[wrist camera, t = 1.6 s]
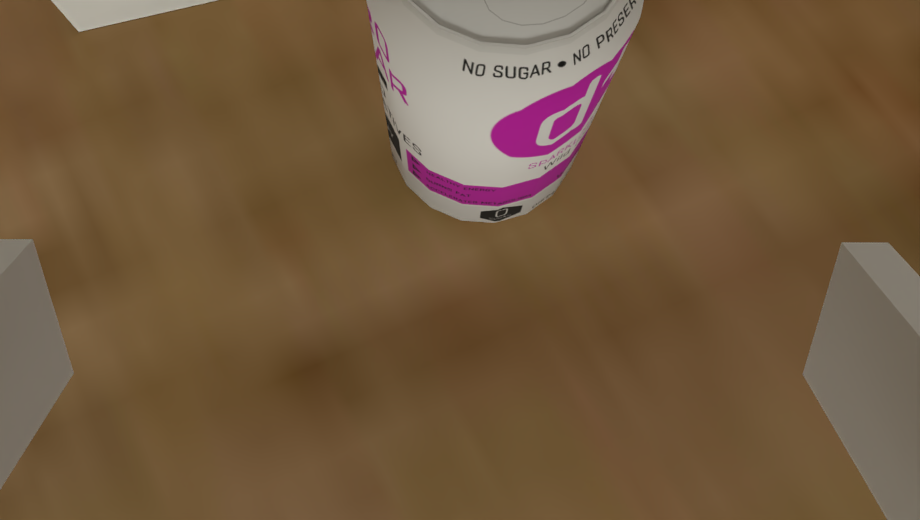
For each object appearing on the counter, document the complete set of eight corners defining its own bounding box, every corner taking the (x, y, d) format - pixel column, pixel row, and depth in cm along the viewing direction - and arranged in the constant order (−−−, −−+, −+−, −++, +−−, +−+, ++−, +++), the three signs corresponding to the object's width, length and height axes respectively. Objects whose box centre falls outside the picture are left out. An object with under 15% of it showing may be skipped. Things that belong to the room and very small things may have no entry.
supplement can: (610, 157, 36) (725, -41, 21) (462, 263, 35) (477, 129, 20) (501, 24, 37) (539, -248, 23) (354, 120, 36) (296, -101, 22)
